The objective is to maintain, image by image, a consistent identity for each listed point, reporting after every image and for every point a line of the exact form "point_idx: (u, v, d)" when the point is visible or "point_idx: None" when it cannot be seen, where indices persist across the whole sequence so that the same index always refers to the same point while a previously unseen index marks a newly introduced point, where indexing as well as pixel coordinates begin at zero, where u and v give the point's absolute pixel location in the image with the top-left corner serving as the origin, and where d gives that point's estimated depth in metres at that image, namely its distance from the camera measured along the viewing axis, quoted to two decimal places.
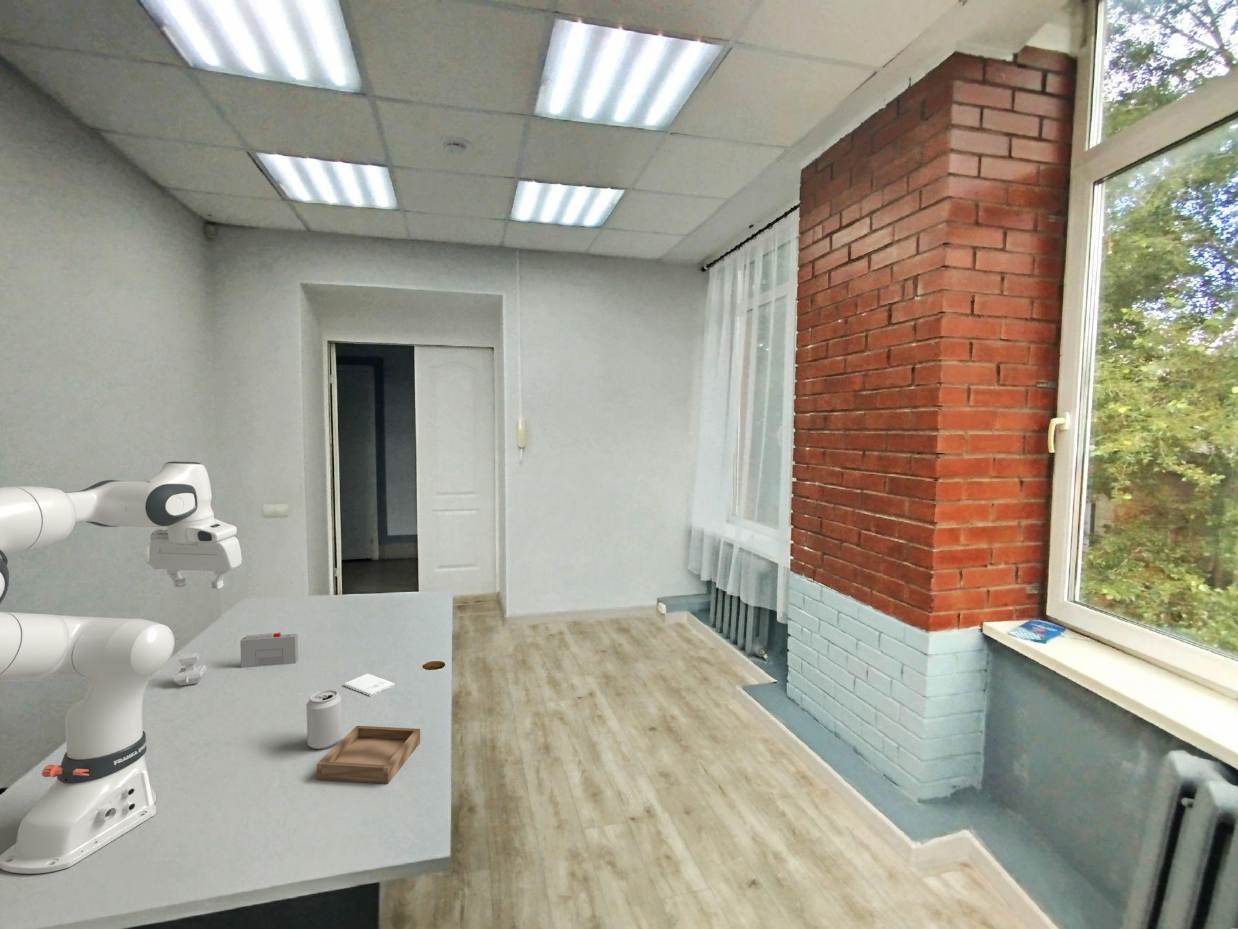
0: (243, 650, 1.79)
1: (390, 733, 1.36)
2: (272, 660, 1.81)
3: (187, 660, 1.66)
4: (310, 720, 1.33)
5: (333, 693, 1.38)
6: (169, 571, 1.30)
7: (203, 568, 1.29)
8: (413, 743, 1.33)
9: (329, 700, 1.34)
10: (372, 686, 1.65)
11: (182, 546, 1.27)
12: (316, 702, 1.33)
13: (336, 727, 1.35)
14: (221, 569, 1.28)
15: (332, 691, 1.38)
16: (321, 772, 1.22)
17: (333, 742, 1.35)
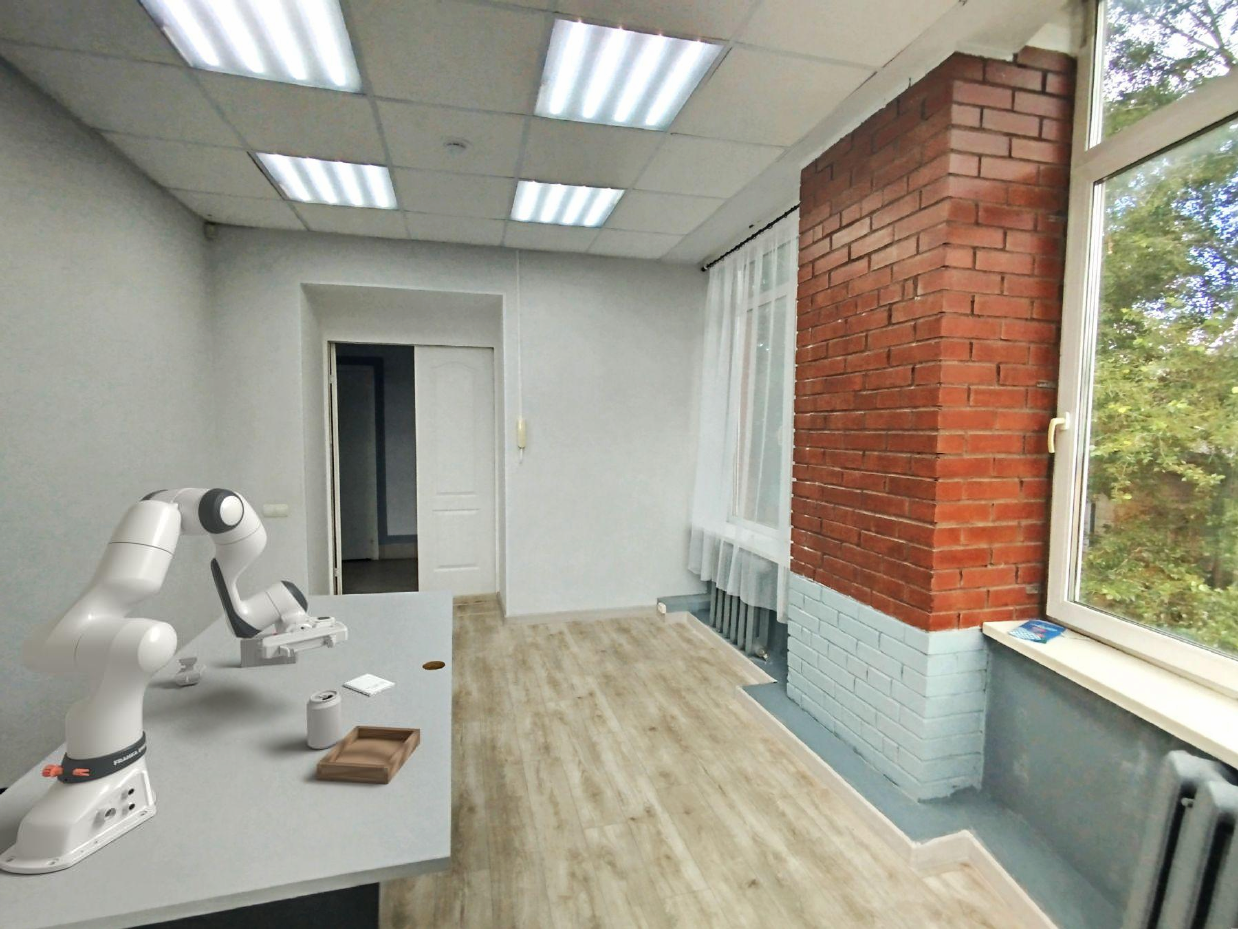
0: (243, 650, 1.79)
1: (390, 733, 1.36)
2: (272, 660, 1.81)
3: (187, 660, 1.66)
4: (310, 720, 1.33)
5: (333, 693, 1.38)
6: (282, 646, 1.44)
7: (320, 633, 1.51)
8: (413, 743, 1.33)
9: (329, 700, 1.34)
10: (372, 686, 1.65)
11: (302, 625, 1.53)
12: (316, 702, 1.33)
13: (336, 727, 1.35)
14: (338, 630, 1.54)
15: (332, 691, 1.39)
16: (321, 772, 1.22)
17: (333, 742, 1.35)
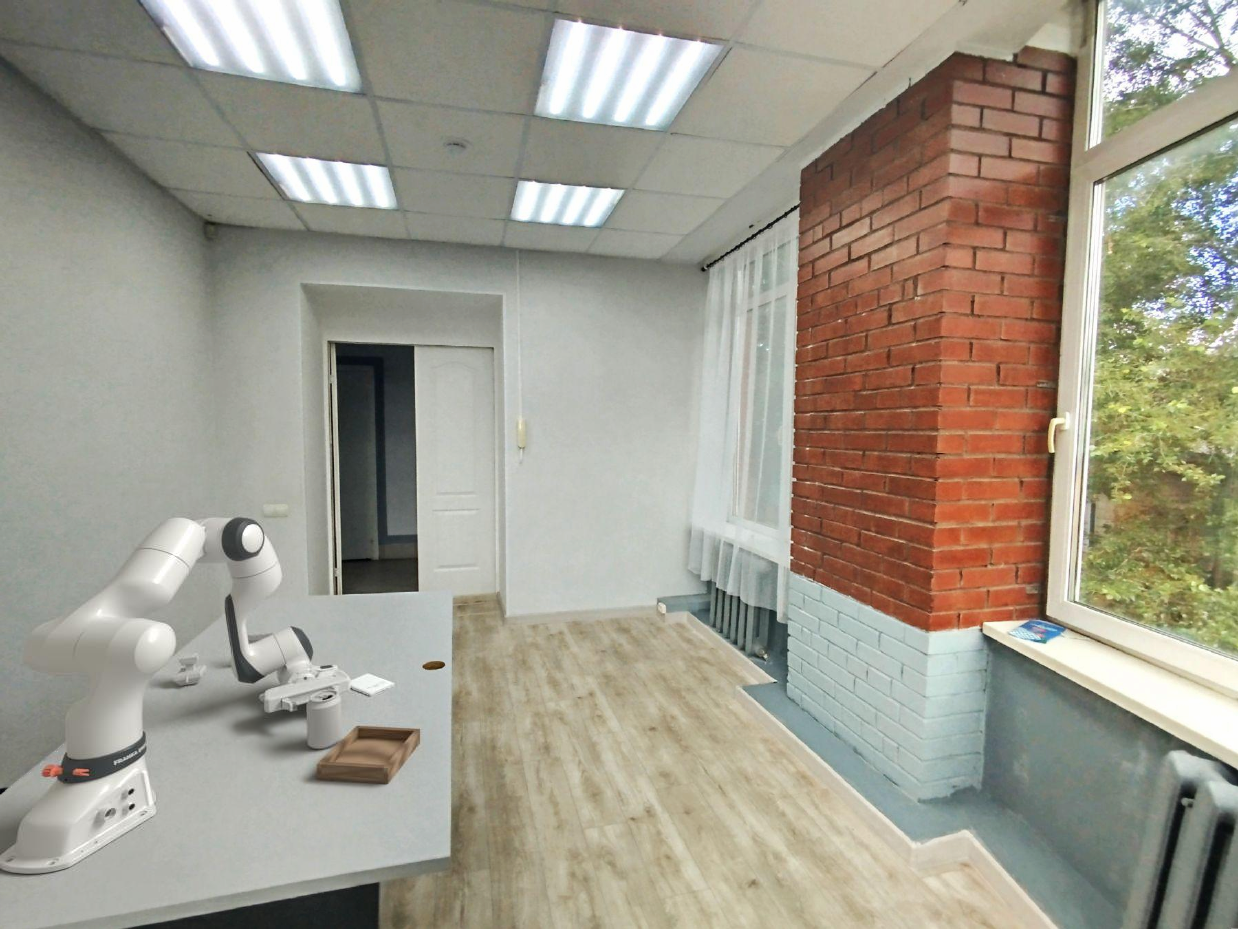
0: None
1: (390, 733, 1.36)
2: None
3: (187, 660, 1.66)
4: (310, 720, 1.33)
5: (333, 693, 1.38)
6: (284, 699, 1.43)
7: (323, 684, 1.50)
8: (413, 743, 1.33)
9: (329, 700, 1.34)
10: (372, 686, 1.65)
11: (305, 676, 1.52)
12: (315, 702, 1.33)
13: (336, 727, 1.35)
14: (341, 680, 1.52)
15: (332, 691, 1.38)
16: (321, 772, 1.22)
17: (333, 742, 1.35)
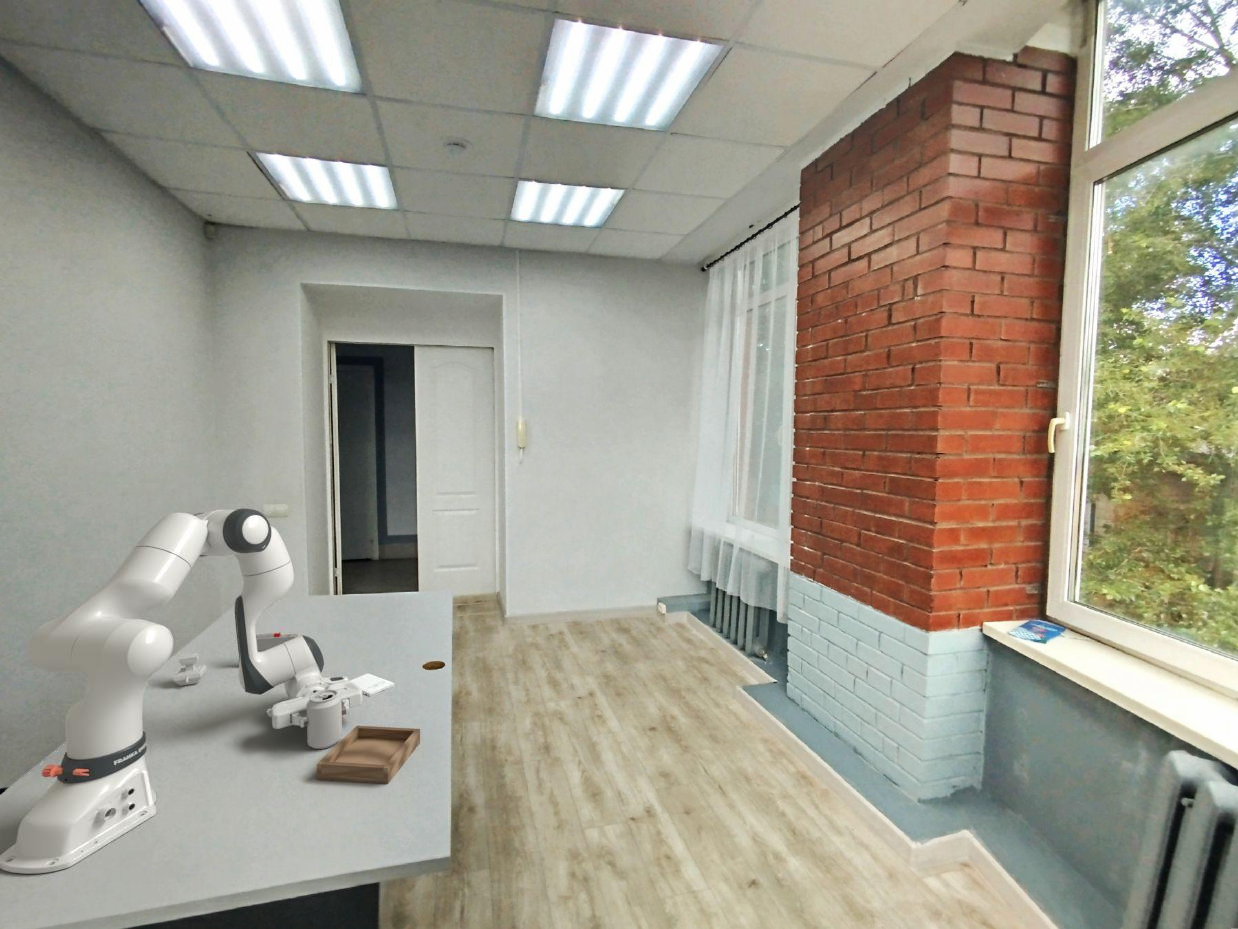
0: None
1: (390, 733, 1.36)
2: None
3: (187, 660, 1.66)
4: (310, 720, 1.33)
5: (333, 693, 1.38)
6: (295, 714, 1.35)
7: None
8: (413, 743, 1.33)
9: (329, 700, 1.34)
10: (372, 686, 1.65)
11: (314, 689, 1.44)
12: (316, 702, 1.33)
13: (336, 727, 1.35)
14: (353, 693, 1.44)
15: (332, 691, 1.39)
16: (321, 772, 1.22)
17: (333, 742, 1.35)
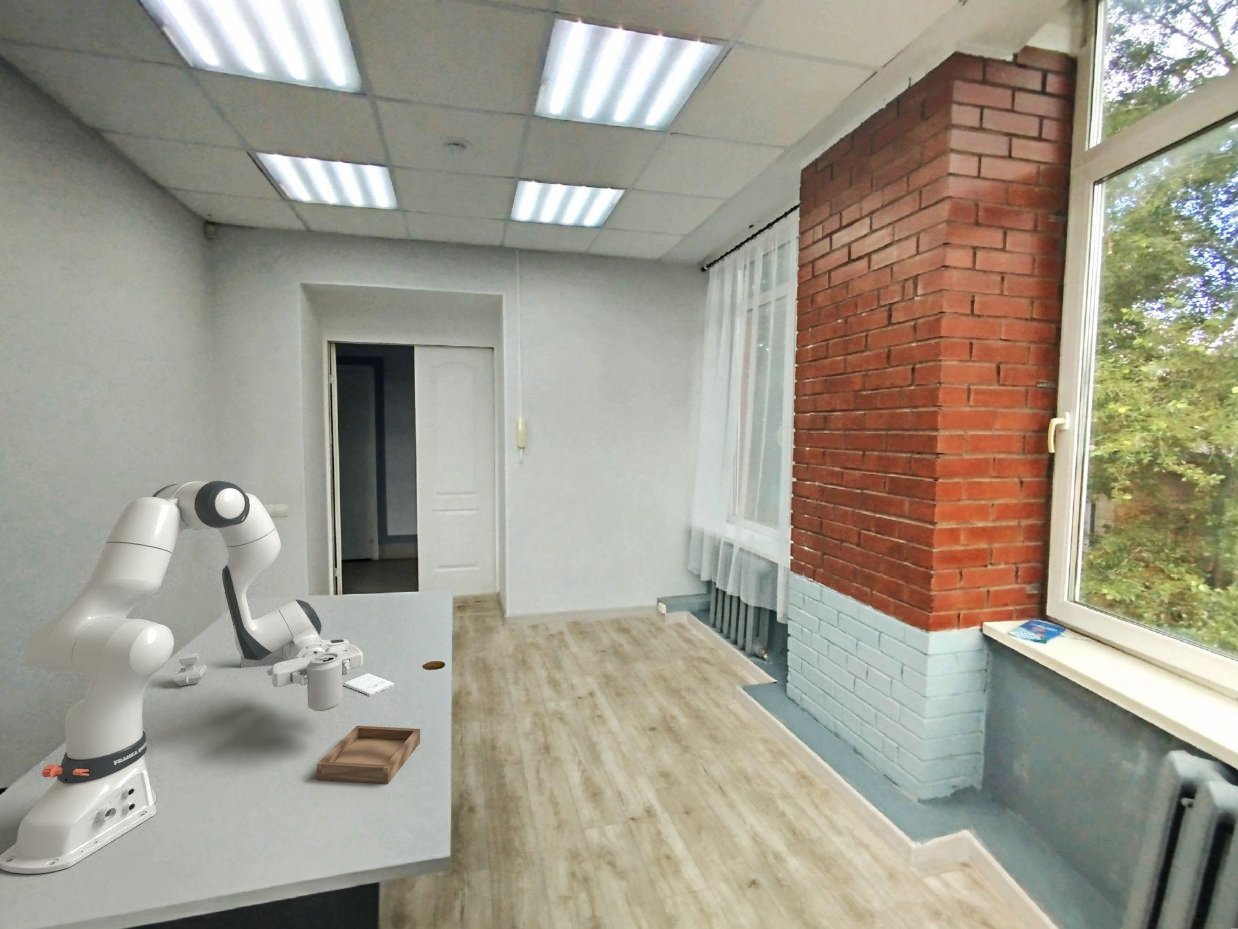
0: None
1: (390, 733, 1.36)
2: (272, 660, 1.81)
3: (187, 660, 1.66)
4: (310, 681, 1.32)
5: (334, 656, 1.37)
6: (295, 673, 1.34)
7: None
8: (413, 743, 1.33)
9: (330, 662, 1.33)
10: (372, 686, 1.65)
11: (315, 650, 1.43)
12: (316, 663, 1.32)
13: (337, 690, 1.34)
14: (353, 654, 1.44)
15: (333, 654, 1.38)
16: (321, 772, 1.22)
17: (334, 704, 1.34)
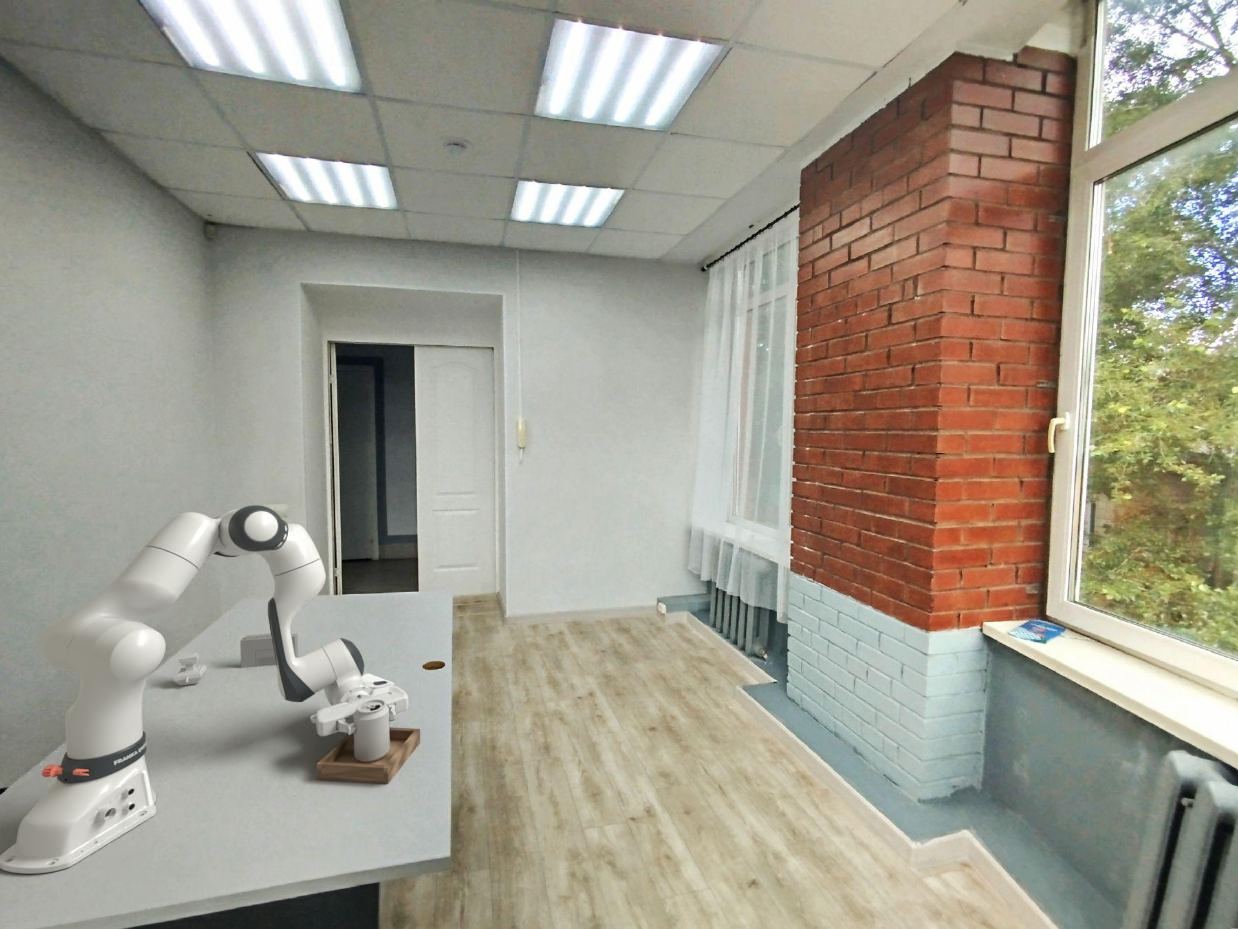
0: (243, 650, 1.79)
1: (390, 733, 1.36)
2: (272, 660, 1.81)
3: (187, 660, 1.66)
4: (358, 732, 1.26)
5: (380, 703, 1.31)
6: (341, 720, 1.28)
7: None
8: (413, 743, 1.33)
9: (378, 710, 1.27)
10: None
11: (359, 693, 1.37)
12: (364, 713, 1.26)
13: (385, 739, 1.28)
14: (399, 698, 1.37)
15: (379, 701, 1.32)
16: (321, 772, 1.22)
17: (382, 755, 1.28)
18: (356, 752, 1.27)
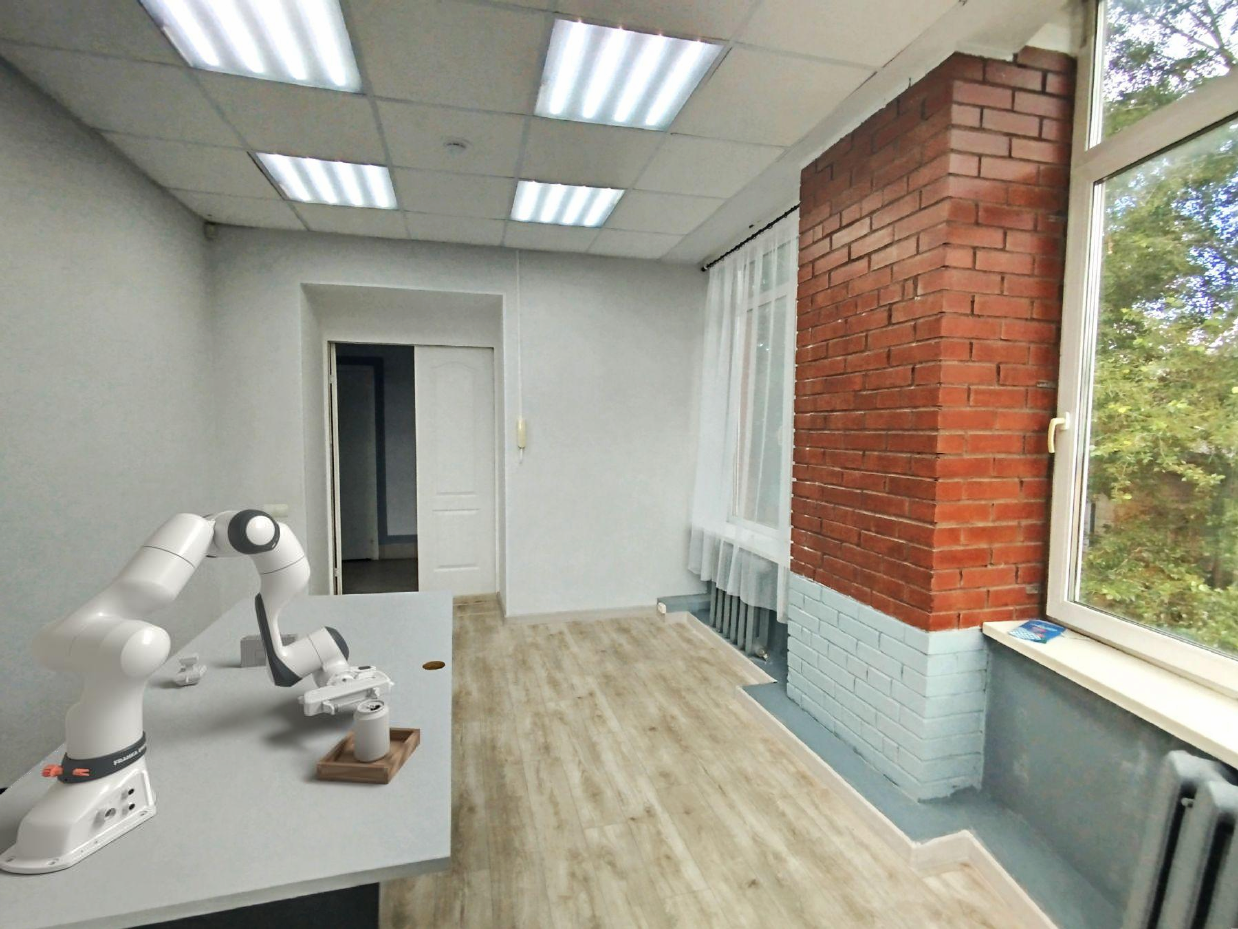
0: (243, 650, 1.79)
1: (390, 733, 1.36)
2: None
3: (187, 660, 1.66)
4: (358, 732, 1.26)
5: (380, 703, 1.31)
6: (325, 702, 1.37)
7: (363, 686, 1.44)
8: (413, 743, 1.33)
9: (378, 710, 1.27)
10: None
11: (344, 677, 1.46)
12: (364, 713, 1.26)
13: (385, 739, 1.28)
14: (381, 681, 1.47)
15: (379, 701, 1.32)
16: (321, 772, 1.22)
17: (382, 755, 1.28)
18: (356, 752, 1.27)
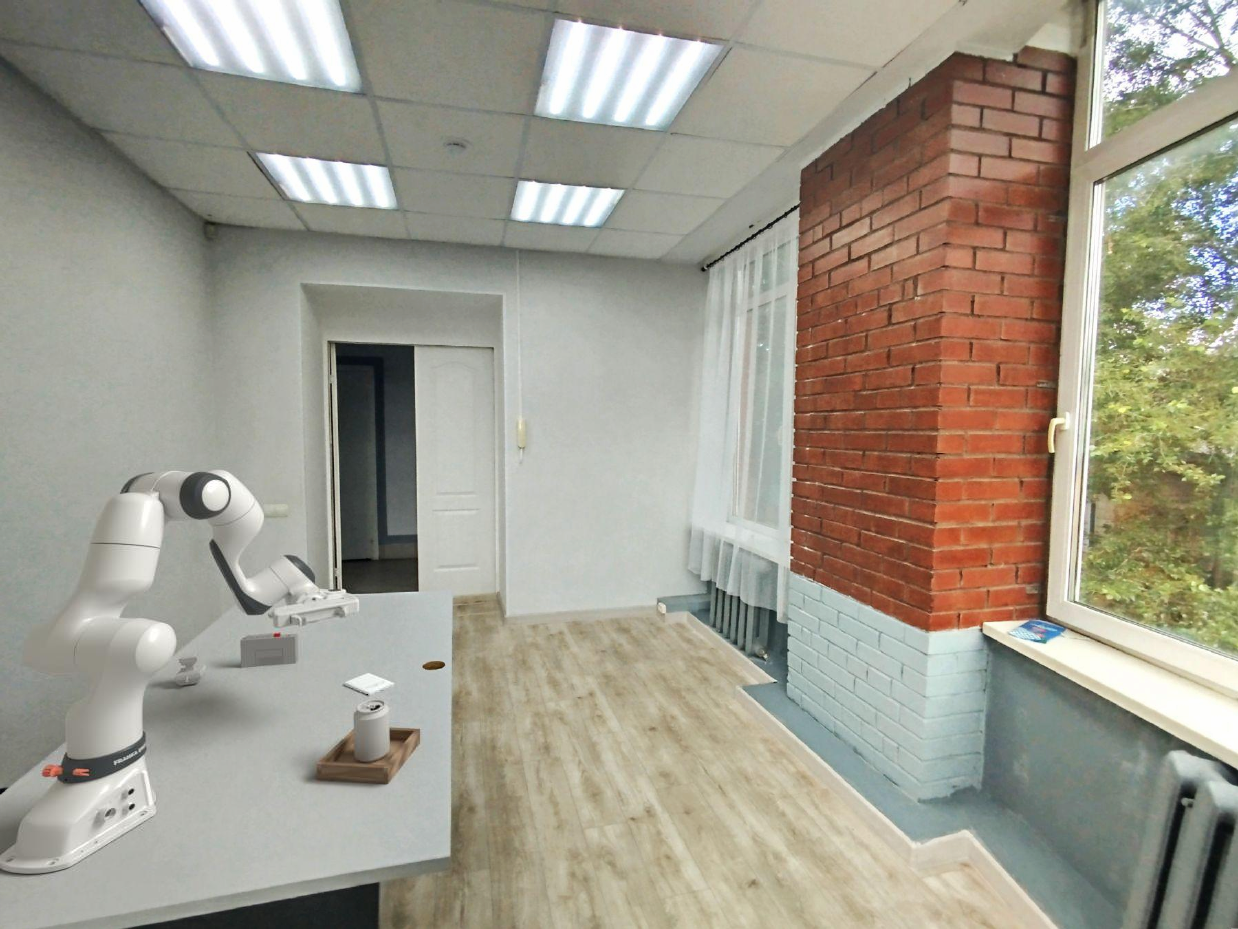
0: (243, 650, 1.79)
1: (390, 733, 1.36)
2: (272, 660, 1.81)
3: (187, 660, 1.66)
4: (358, 732, 1.26)
5: (380, 703, 1.31)
6: (294, 615, 1.42)
7: (332, 604, 1.49)
8: (413, 743, 1.33)
9: (378, 710, 1.27)
10: (372, 685, 1.65)
11: (313, 596, 1.51)
12: (364, 713, 1.26)
13: (385, 739, 1.28)
14: (350, 601, 1.52)
15: (379, 701, 1.32)
16: (321, 772, 1.22)
17: (382, 755, 1.28)
18: (356, 752, 1.27)
